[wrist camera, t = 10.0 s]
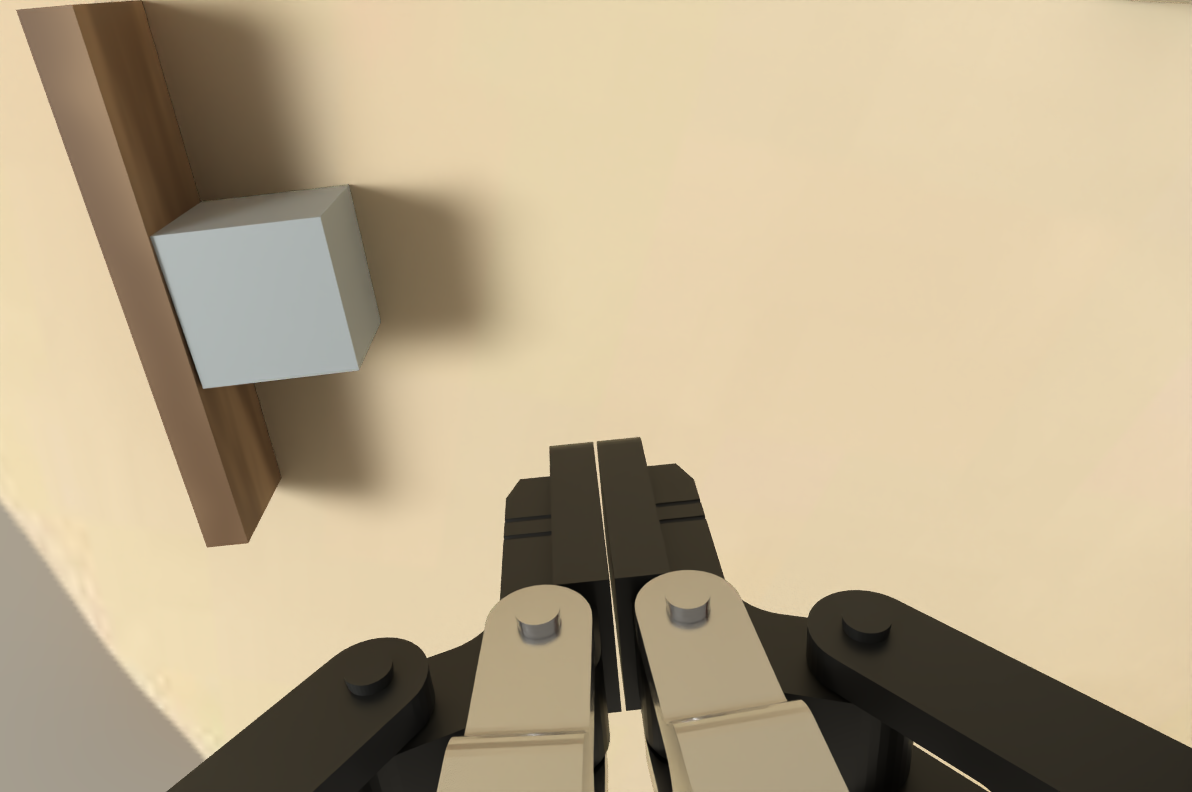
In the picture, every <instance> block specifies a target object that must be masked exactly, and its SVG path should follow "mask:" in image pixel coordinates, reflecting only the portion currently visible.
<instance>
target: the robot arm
mask: <svg viewBox="0 0 1192 792" xmlns="http://www.w3.org/2000/svg"><path fill="white" fill-rule="evenodd" d="M1131 1H1147V2H1170V3H1187V4H1192V0H1131ZM549 449H550V476H549V477H539V478H529V479H520V480H519V482H518V483H517V484H516V486H515V487H514V489H513V490H512V491H511V493H510V494H509V495H508V497H507V498H506V509H505V526H504V543H503V559H502V576H501V593H500V601H499V602H498V603H497V604H496V605H495V606H494V607H493V608H492V610H491V611H490V613H489V615H488V617H487V620H486V623H485V629H484V631H483V632H482V633H481V634H480V635H478V636H477V637H475V638H474V639H472V640H471V641H469V642H467V643H465V644H463V645H461V646H459V647H457V648H454V649H452V650H449V651H446V652H443V653H440V654H437V655H435V656H432V657H429V658H426V656H425V654H424V652H423V651H422V650H421V649H420V648H419V647H418V646H417V645H415V644H414V643H412V642H409V641H407V640H404V639H399V638H376V639H371V640H367V641H364V642H360V643H358V644H355V645H353V646H351V647H349V648H347V649H345V650H343V651H342V652H340V653H339V654H337V655H336V656H334V657H333V658H332V659H331V660H329V661H328V662H327V663H326V664H324V665H323V666H322V667H321V668H319V669H318V670H317V671H316V672H314V673H313V674H312V675H311V676H309V677H308V678H307V679H306V680H305V681H303V682H302V683H301V684H300V685H298V686H297V687H296V688H295V689H293V690H292V691H291V692H290V693H288V694H287V695H286V696H285V697H283V698H282V699H281V700H280V701H278V702H277V703H276V704H275V705H273V706H272V707H271V708H270V709H269V710H267V711H266V712H265V713H264V714H262V715H261V716H260V717H259V718H257V719H256V720H255V721H254V722H252V723H251V724H250V725H249V726H247V727H246V728H245V729H244V730H242V731H241V732H240V733H239V734H237V735H236V736H235V737H234V738H232V739H231V740H230V741H229V742H228V743H226V744H225V745H224V746H223V747H221V748H220V749H219V750H218V751H216V752H215V753H214V754H213V755H211V756H210V757H209V758H208V759H206V760H205V761H204V762H203V763H201V764H200V765H199V766H198V767H197V768H195V769H194V770H193V771H192V772H190V773H189V774H188V775H187V776H185V777H184V778H183V779H182V780H180V781H179V782H178V783H177V784H175V785H174V786H173V787H172V788H170V789H169V790H168V791H167V792H608V761H607V750H608V746H609V742H610V732H609V721H608V713H613V712H621V701H620V690H619V679H618V668H617V657H616V646H615V636H614V625H613V614H612V603H611V592H610V581H609V572H610V580H611V589H612V597H613V605H614V613H615V622H616V630H617V638H618V647H619V655H620V663H621V671H622V680H623V688H624V696H625V705H626V711H629V710H638V709H641V711H642V718H643V725H644V735H645V748H646V759H647V764H648V769H649V773H650V777H651V782H652V786H653V790H654V792H988V791H986V790H985V789H983V788H981V787H980V786H978V785H977V784H975V783H973V782H972V781H970V780H969V779H967V778H965V777H964V776H962V775H961V774H959V773H957V772H956V771H954V770H953V769H951V768H949V767H948V766H946V765H945V764H943V763H941V762H940V761H938V760H937V759H935V758H933V757H932V756H930V755H929V754H927V753H925V752H924V751H922V750H921V749H919V748H917V747H916V746H914V745H913V741H914V742H915V743H917V744H918V745H920V746H922V747H923V748H925V749H927V750H928V751H930V752H931V753H933V754H935V755H936V756H938V757H939V758H941V759H943V760H944V761H946V762H947V763H949V764H951V765H952V766H954V767H955V768H957V769H959V770H960V771H962V772H964V773H965V774H967V775H968V776H970V777H972V778H973V779H975V780H976V781H978V782H980V783H981V784H982V785H984V786H985V787H986V788H988V789H989V790H990V791H991V792H1192V748H1190V747H1188V746H1186V745H1184V744H1182V743H1180V742H1178V741H1176V740H1174V739H1172V738H1170V737H1168V736H1166V735H1164V734H1162V733H1161V732H1159V731H1157V730H1155V729H1153V728H1151V727H1149V726H1147V725H1145V724H1143V723H1141V722H1139V721H1137V720H1135V719H1133V718H1131V717H1129V716H1127V715H1125V714H1123V713H1121V712H1119V711H1117V710H1115V709H1113V708H1111V707H1109V706H1107V705H1105V704H1103V703H1101V702H1099V701H1097V700H1095V699H1093V698H1091V697H1089V696H1087V695H1085V694H1083V693H1081V692H1079V691H1077V690H1075V689H1073V688H1071V687H1069V686H1067V685H1065V684H1063V683H1061V682H1059V681H1057V680H1055V679H1053V678H1051V677H1049V676H1047V675H1045V674H1043V673H1041V672H1039V671H1037V670H1035V669H1033V668H1031V667H1029V666H1027V665H1025V664H1023V663H1021V662H1019V661H1017V660H1015V659H1013V658H1011V657H1009V656H1007V655H1005V654H1003V653H1001V652H1000V651H998V650H996V649H994V648H992V647H990V646H988V645H986V644H984V643H982V642H980V641H978V640H976V639H974V638H972V637H970V636H968V635H966V634H964V633H962V632H960V631H958V630H956V629H954V628H952V627H950V626H948V625H946V624H944V623H942V622H940V621H938V620H936V619H934V618H932V617H930V616H928V615H926V614H924V613H922V612H920V611H918V610H916V609H914V608H912V607H910V606H908V605H906V604H904V603H902V602H900V601H898V600H896V599H894V598H891V597H889V596H886V595H883V594H880V593H876V592H871V591H862V590H848V591H841V592H837V593H834V594H831V595H828V596H826V597H824V598H823V599H821V600H820V601H818V602H817V603H816V604H815V605H814V606H813V608H812V609H811V611H810V613H809V616H808V618H806V617H798V616H790V615H783V614H777V613H771V612H768V611H764V610H761V609H759V608H756V607H754V606H751V605H750V604H748V603H746V602H744V601H743V600H742V599H741V597H740V595H739V593H738V592H737V590H736V589H735V588H734V587H733V586H732V585H731V584H730V583H729V582H728V581H726V580H725V578H724V575H723V572H722V569H721V566H720V562H719V559H718V556H717V553H716V550H715V546H714V543H713V540H712V537H711V533H710V530H709V527H708V524H707V521H706V519H705V514H704V511H703V508H702V504H701V503H700V498H699V495H698V491H697V488H696V485H695V482H694V479H693V478H692V477H690V476H689V475H688V474H687V473H686V472H685V471H684V470H683V469H681V468H680V467H679V466H678V465H677V464H676V463H675V464H666V465H656V466H647V464H646V459H645V455H644V450H643V446H642V441H641V438H640V437H636V438H626V439H616V440H606V441H597V450H598V462H599V472H600V483H601V494H602V505H603V516H604V527H605V537H606V546H607V555H608V564H609V572H608V564H607V555H606V547H605V539H604V530H603V522H602V513H601V505H600V496H599V488H598V480H597V471H596V463H595V454H594V446H593V442H587V443H578V444H568V445H558V446H550V448H549Z"/></svg>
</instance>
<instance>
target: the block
mask: <svg viewBox="0 0 1192 792" xmlns="http://www.w3.org/2000/svg"><path fill="white" fill-rule="evenodd" d="M150 238H151V241H152V244H153V247H154V250H155V253H156V255H157V258H158V261H159V264H160V267H161V270H162V273H163V275H164V278H165V281H166V284H167V287H168V290H169V293H170V295H171V298H172V301H173V304H174V307H175V310H176V313H177V315H178V318H179V321H180V324H181V327H182V330H183V333H184V335H185V338H186V341H187V344H188V347H189V350H190V353H191V355H192V358H193V361H194V364H195V367H196V370H197V373H198V375H199V378H200V381H201V384H202V387H203V389H205V388H214V387H222V386H231V385H239V384H248V383H256V382H265V381H273V380H282V379H290V378H299V377H307V376H316V375H324V374H332V373H341V372H349V371H358V370H359V369H360V367H361V365H362V363H363V361H364V358H365V356H366V354H367V352H368V349H369V347H370V345H371V343H372V341H373V338H374V336H375V334H376V332H377V329H378V327H379V325H380V323H381V320H380V316H379V311H378V307H377V303H376V299H375V294H374V290H373V286H372V281H371V277H370V273H369V268H368V264H367V260H366V256H365V251H364V247H363V243H362V238H361V234H360V230H359V226H358V221H357V217H356V213H355V208H354V204H353V200H352V196H351V191H350V187H349V185H341V186H332V187H324V188H315V189H306V190H298V191H289V192H281V193H272V194H263V195H255V196H246V197H238V198H229V199H220V200H212V201H203V202H200V203H199V204H197V205H196V206H194V207H193V208H191V209H190V210H188V211H187V212H185V213H184V214H182V215H181V216H179V217H178V218H177V219H175V220H174V221H172V222H171V223H169V224H168V225H166V226H165V227H163V228H162V229H160V230H159V231H157V232H156V233H154V234H153V235H151V236H150Z"/></svg>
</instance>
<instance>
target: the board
mask: <svg viewBox="0 0 1192 792" xmlns="http://www.w3.org/2000/svg"><path fill="white" fill-rule="evenodd" d="M16 11H17V13H18V16H19V19H20V22H21V25H22V28H23V30H24V33H25V36H26V39H27V42H28V44H29V47H30V50H31V53H32V56H33V59H34V61H35V64H36V67H37V70H38V73H39V75H40V78H41V81H42V84H43V87H44V89H45V92H46V95H47V98H48V101H49V104H50V106H51V109H52V112H53V115H54V118H55V120H56V123H57V126H58V129H59V132H60V135H61V137H62V140H63V143H64V146H65V149H66V151H67V154H68V157H69V160H70V163H71V166H72V168H73V171H74V174H75V177H76V180H77V182H78V185H79V188H80V191H81V194H82V196H83V199H84V202H85V205H86V208H87V211H88V213H89V216H90V219H91V222H92V225H93V227H94V230H95V233H96V236H97V239H98V242H99V244H100V247H101V250H102V253H103V256H104V258H105V261H106V264H107V267H108V270H109V273H110V275H111V278H112V281H113V284H114V287H115V289H116V292H117V295H118V298H119V301H120V303H121V306H122V309H123V312H124V315H125V318H126V320H127V323H128V326H129V329H130V332H131V334H132V337H133V340H134V343H135V346H136V349H137V351H138V354H139V357H140V360H141V363H142V365H143V368H144V371H145V374H146V377H147V380H148V382H149V385H150V388H151V391H152V394H153V396H154V399H155V402H156V405H157V408H158V410H159V413H160V416H161V419H162V422H163V425H164V427H165V430H166V433H167V436H168V439H169V441H170V444H171V447H172V450H173V453H174V456H175V458H176V461H177V464H178V467H179V470H180V472H181V475H182V478H183V481H184V484H185V487H186V489H187V492H188V495H189V498H190V501H191V503H192V506H193V509H194V512H195V515H196V517H197V520H198V523H199V526H200V529H201V532H202V534H203V537H204V540H205V543H206V546H207V547H215V546H225V545H234V544H244V543H248V542H249V540H250V538H251V536H252V534H253V532H254V531H255V529H256V527H257V525H258V523H259V521H260V519H261V517H262V515H263V513H264V511H265V509H266V507H267V505H268V503H269V501H270V499H271V497H272V495H273V493H274V491H275V489H276V487H277V485H278V483H279V481H280V479H281V475H280V472H279V468H278V465H277V461H276V458H275V455H274V451H273V448H272V444H271V441H270V437H269V434H268V431H267V427H266V424H265V420H264V417H263V414H262V410H261V407H260V403H259V400H258V396H257V393H256V390H255V386H254V383H248V384H239V385H231V386H222V387H214V388H205V389H203V387H202V384H201V381H200V378H199V375H198V373H197V370H196V367H195V364H194V361H193V358H192V355H191V353H190V350H189V347H188V344H187V341H186V338H185V335H184V333H183V330H182V327H181V324H180V321H179V318H178V315H177V313H176V310H175V307H174V304H173V301H172V298H171V295H170V293H169V290H168V287H167V284H166V281H165V278H164V275H163V273H162V270H161V267H160V264H159V261H158V258H157V255H156V253H155V250H154V247H153V244H152V241H151V238H150V236H151V235H153V234H154V233H156V232H157V231H159V230H160V229H162V228H163V227H165V226H166V225H168V224H169V223H171V222H172V221H174V220H175V219H177V218H178V217H179V216H181V215H182V214H184V213H185V212H187V211H188V210H190V209H191V208H193V207H194V206H196V205H197V204H199V203H200V198H199V195H198V192H197V188H196V185H195V181H194V178H193V174H192V171H191V168H190V164H189V161H188V157H187V154H186V151H185V147H184V144H183V140H182V137H181V133H180V130H179V127H178V123H177V120H176V116H175V113H174V110H173V106H172V103H171V99H170V96H169V93H168V89H167V86H166V82H165V79H164V75H163V72H162V69H161V65H160V62H159V58H158V55H157V52H156V48H155V45H154V41H153V38H152V34H151V31H150V28H149V24H148V21H147V17H146V14H145V11H144V7H143V4H142V0H140V1H125V2H109V3H94V4H78V5H65V6H54V7H43V8H32V9H21V10H16Z"/></svg>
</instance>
